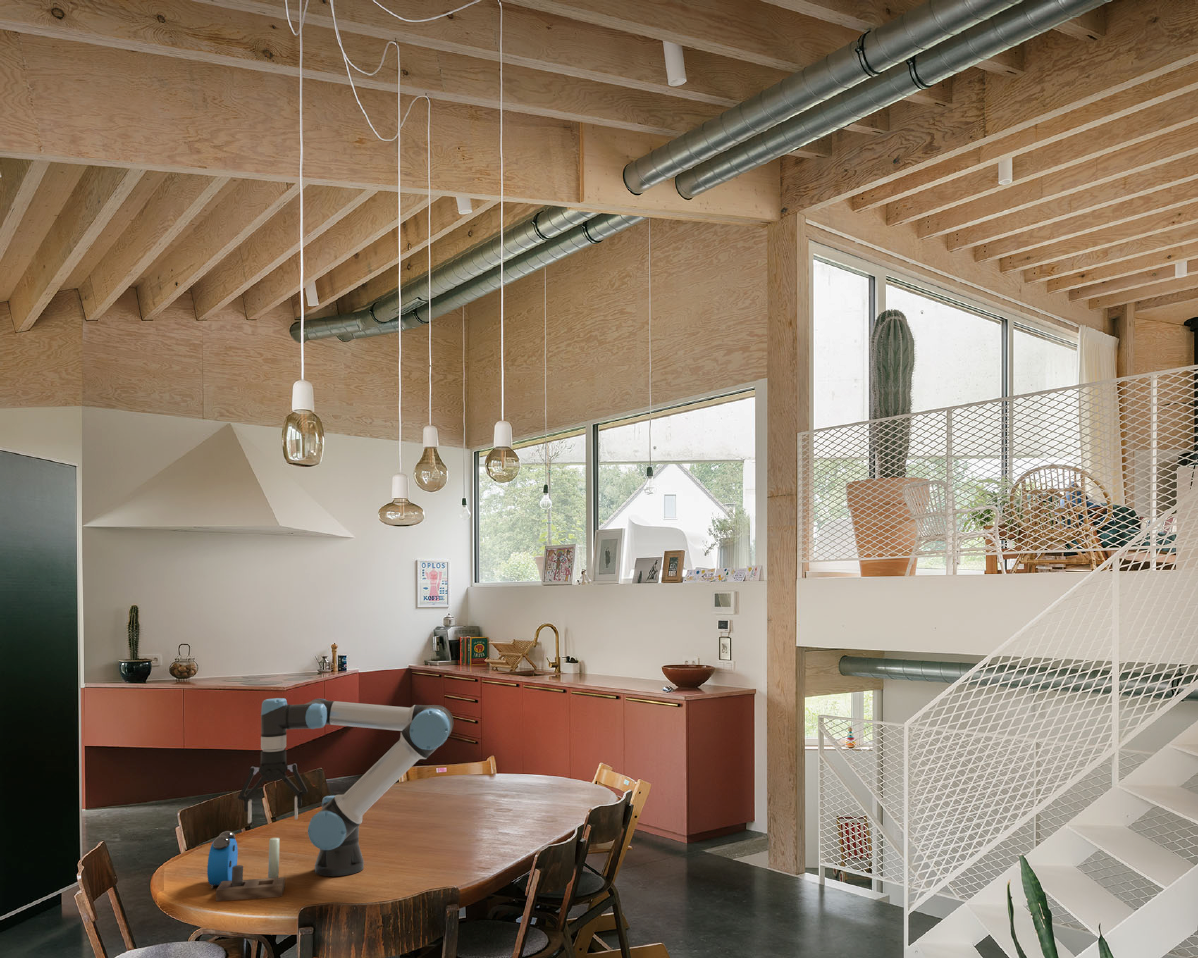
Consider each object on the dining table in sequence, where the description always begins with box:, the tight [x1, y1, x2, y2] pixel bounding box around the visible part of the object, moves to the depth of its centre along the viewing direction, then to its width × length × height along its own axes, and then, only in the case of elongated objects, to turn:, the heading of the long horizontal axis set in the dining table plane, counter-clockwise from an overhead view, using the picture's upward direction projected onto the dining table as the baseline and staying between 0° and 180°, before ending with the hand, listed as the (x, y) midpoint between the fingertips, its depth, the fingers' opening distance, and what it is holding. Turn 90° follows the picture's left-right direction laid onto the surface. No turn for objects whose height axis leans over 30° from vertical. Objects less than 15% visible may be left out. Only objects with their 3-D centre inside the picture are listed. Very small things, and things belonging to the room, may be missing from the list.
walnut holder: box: [215, 864, 286, 902], centre depth 281 cm, size 18×9×8 cm, turn 102°
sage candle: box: [267, 837, 281, 878], centre depth 292 cm, size 3×3×13 cm
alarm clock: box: [206, 830, 239, 889], centre depth 291 cm, size 13×6×15 cm, turn 8°
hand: (273, 820), depth 293 cm, fingers open, 13 cm apart
